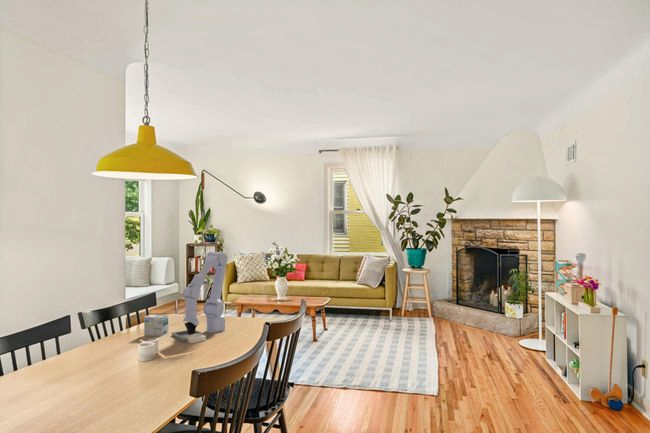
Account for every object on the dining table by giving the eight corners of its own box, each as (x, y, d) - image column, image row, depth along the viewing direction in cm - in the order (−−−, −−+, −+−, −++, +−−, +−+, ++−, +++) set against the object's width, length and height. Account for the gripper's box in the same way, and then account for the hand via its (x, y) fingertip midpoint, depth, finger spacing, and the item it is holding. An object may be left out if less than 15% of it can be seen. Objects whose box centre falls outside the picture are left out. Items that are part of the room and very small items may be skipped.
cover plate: (199, 337, 226) (199, 332, 226) (205, 340, 220) (205, 336, 220) (184, 339, 221) (184, 335, 221) (190, 343, 215) (190, 339, 215)
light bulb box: (168, 334, 236) (168, 314, 236) (163, 337, 229) (163, 317, 229) (150, 333, 237) (149, 314, 237) (143, 337, 230) (143, 316, 230)
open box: (193, 333, 237) (193, 328, 237) (207, 340, 224) (207, 335, 224) (171, 337, 229) (171, 332, 229) (184, 344, 216) (184, 339, 216)
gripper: (178, 309, 227) (178, 335, 227) (188, 313, 216) (189, 341, 216) (191, 307, 232) (191, 332, 232) (202, 311, 221) (202, 338, 221)
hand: (191, 336), depth 224 cm, fingers closed
